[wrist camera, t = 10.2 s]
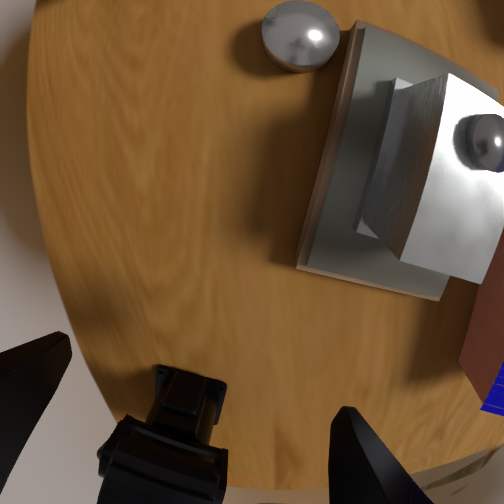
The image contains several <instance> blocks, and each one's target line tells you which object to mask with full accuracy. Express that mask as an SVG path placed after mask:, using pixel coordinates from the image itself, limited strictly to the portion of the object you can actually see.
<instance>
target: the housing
mask: <svg viewBox="0 0 504 504" xmlns="http://www.w3.org/2000/svg"><path fill="white" fill-rule="evenodd" d="M503 227H504V107H502V106H501V105H499V104H498V103H497V102H495V101H494V100H492V99H491V98H489V97H488V96H486V95H485V94H483V93H482V92H480V91H479V90H477V89H475V88H474V87H472V86H470V85H469V84H467V83H466V82H464V81H462V80H460V79H459V78H457V77H455V76H453V75H452V74H450V73H447V74H444V75H441V76H438V77H435V78H432V79H429V80H426V81H423V82H420V83H417V84H415V85H413V84H411V83H409V82H406V81H404V80H402V79H399V78H397V77H396V78H394V79H392V80H390V85H389V90H388V95H387V99H386V104H385V109H384V113H383V117H382V122H381V126H380V130H379V134H378V138H377V142H376V146H375V150H374V154H373V158H372V162H371V166H370V169H369V173H368V176H367V180H366V184H365V187H364V190H363V194H362V197H361V201H360V204H359V207H358V211H357V214H356V217H355V220H354V223H353V227H352V228H353V229H354V230H355V231H356V232H357V233H360V234H364V235H367V236H371V237H374V238H378V239H380V240H381V241H382V242H383V243H384V244H385V246H386V247H387V248H388V249H389V250H390V251H391V252H392V253H393V254H394V255H395V256H396V258H397V259H398V260H399V261H402V262H405V263H409V264H412V265H416V266H420V267H423V268H427V269H430V270H434V271H437V272H440V273H444V274H447V275H451V276H454V277H458V278H461V279H464V280H468V281H471V282H474V283H478V284H482V281H483V279H484V277H485V275H486V272H487V270H488V267H489V265H490V263H491V260H492V258H493V255H494V252H495V250H496V247H497V244H498V242H499V239H500V236H501V233H502V230H503Z"/></svg>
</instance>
